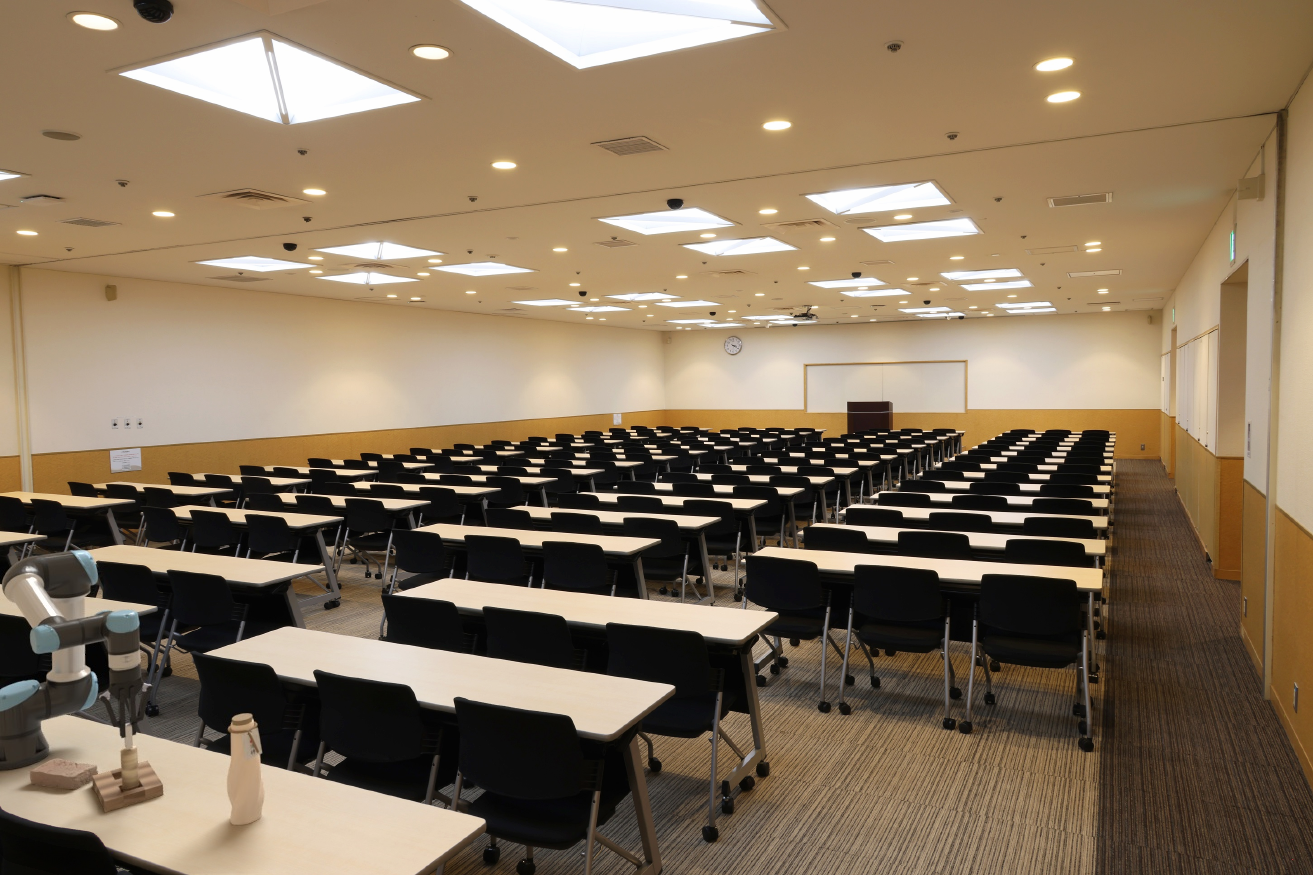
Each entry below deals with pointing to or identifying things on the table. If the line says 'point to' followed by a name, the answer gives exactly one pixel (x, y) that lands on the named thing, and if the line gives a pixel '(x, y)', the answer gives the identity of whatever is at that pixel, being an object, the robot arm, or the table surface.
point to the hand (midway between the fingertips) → (128, 747)
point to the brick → (63, 774)
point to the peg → (129, 768)
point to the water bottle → (245, 771)
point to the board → (115, 797)
